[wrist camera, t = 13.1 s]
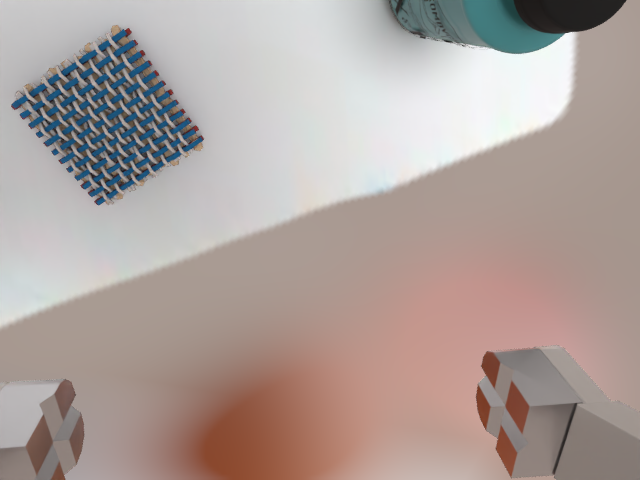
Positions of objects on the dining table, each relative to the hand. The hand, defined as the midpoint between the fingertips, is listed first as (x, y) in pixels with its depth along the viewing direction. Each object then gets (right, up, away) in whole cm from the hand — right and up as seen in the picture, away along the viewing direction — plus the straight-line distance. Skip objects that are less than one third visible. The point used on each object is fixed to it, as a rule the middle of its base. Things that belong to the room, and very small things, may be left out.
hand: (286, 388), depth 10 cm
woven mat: (-15, +12, +28) cm, 34 cm away
